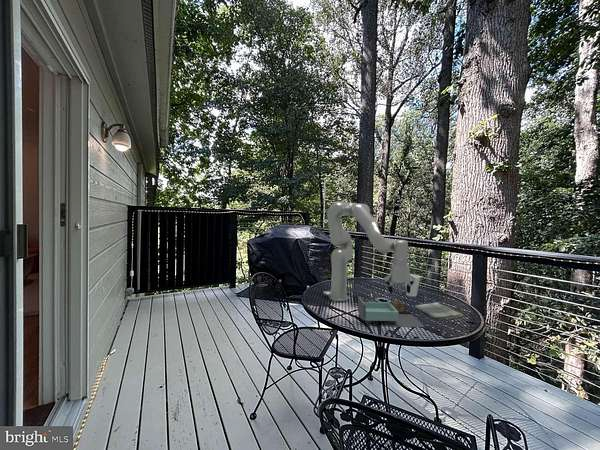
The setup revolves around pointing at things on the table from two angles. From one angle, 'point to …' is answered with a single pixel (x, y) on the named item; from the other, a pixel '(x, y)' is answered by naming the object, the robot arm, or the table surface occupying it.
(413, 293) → the foam cup
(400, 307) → the walnut block
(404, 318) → the dock mat
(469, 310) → the table surface
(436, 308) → the dish towel
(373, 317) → the mint green cubby
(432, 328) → the table surface
